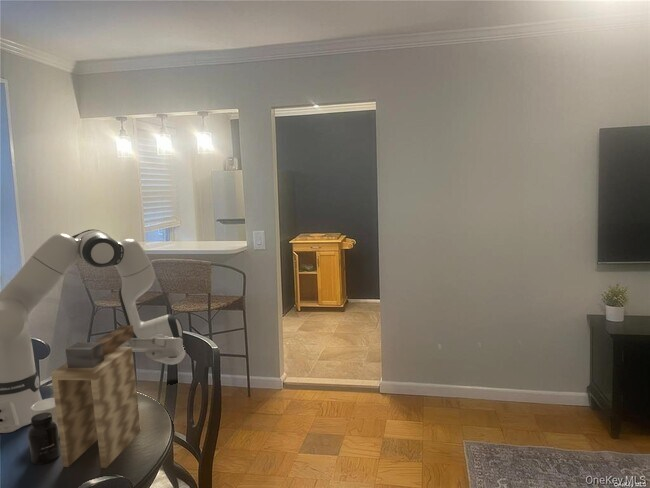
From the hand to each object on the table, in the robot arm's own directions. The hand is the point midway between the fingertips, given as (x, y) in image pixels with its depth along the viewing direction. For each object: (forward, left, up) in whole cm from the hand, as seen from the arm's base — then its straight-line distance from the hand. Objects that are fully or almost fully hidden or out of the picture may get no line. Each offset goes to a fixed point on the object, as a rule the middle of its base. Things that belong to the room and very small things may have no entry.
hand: (140, 340), depth 153 cm
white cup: (-25, -11, -22) cm, 36 cm away
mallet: (-6, -18, +4) cm, 19 cm away
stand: (-8, -23, -22) cm, 33 cm away
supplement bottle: (-23, -24, -22) cm, 40 cm away
